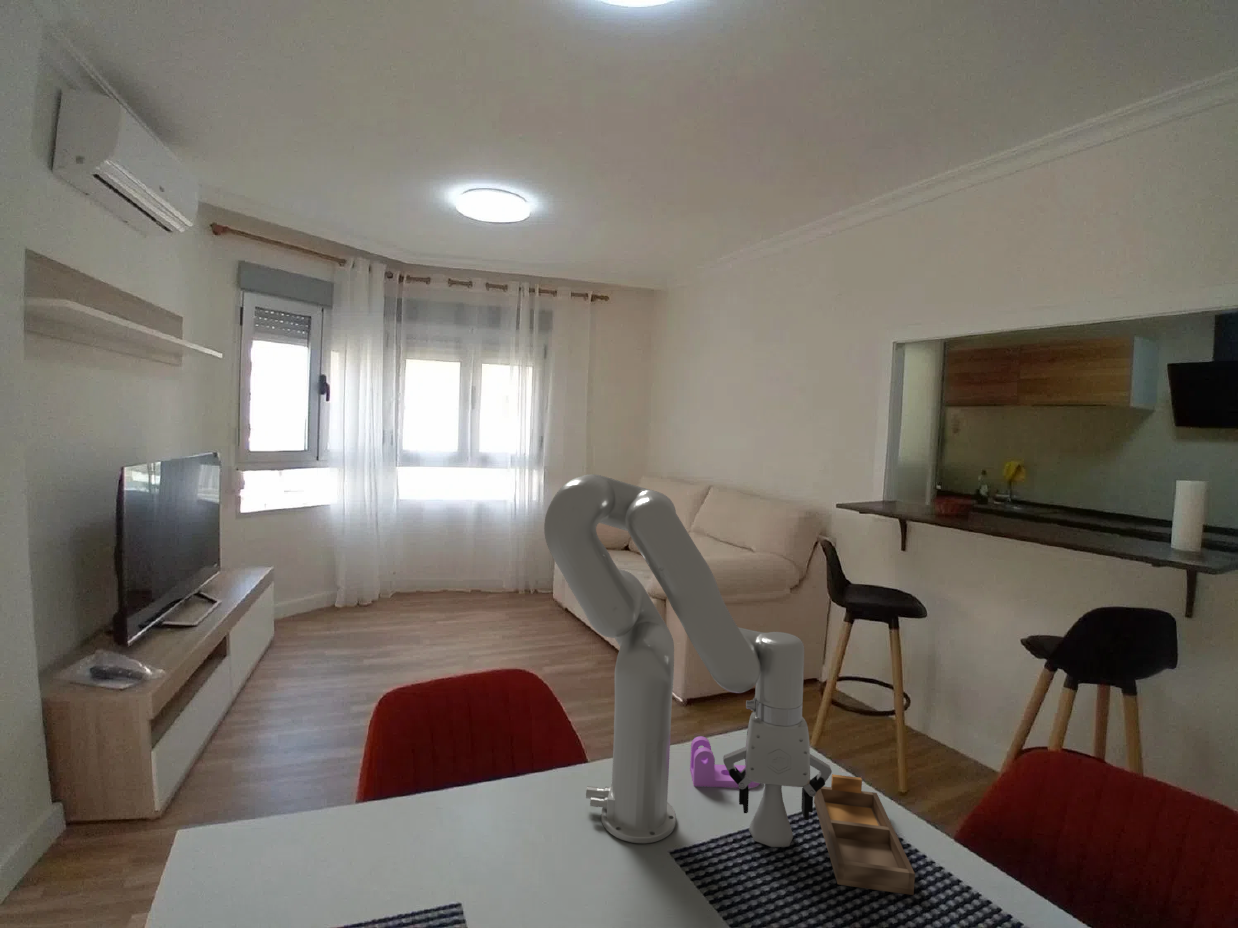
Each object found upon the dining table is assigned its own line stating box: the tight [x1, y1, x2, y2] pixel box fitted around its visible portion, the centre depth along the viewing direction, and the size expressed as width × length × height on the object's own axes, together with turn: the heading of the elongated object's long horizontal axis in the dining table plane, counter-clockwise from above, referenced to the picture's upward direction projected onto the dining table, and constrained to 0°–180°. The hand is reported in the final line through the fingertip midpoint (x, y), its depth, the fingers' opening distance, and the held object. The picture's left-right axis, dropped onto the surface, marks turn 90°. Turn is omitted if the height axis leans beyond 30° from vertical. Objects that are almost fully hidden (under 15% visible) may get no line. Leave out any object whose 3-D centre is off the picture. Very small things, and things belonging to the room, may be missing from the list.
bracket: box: [689, 735, 760, 789], centre depth 116 cm, size 13×6×7 cm, turn 91°
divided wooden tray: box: [813, 773, 916, 896], centre depth 98 cm, size 11×20×6 cm, turn 171°
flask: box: [748, 784, 794, 848], centre depth 100 cm, size 7×7×10 cm
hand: (774, 811), depth 100 cm, fingers open, 9 cm apart
